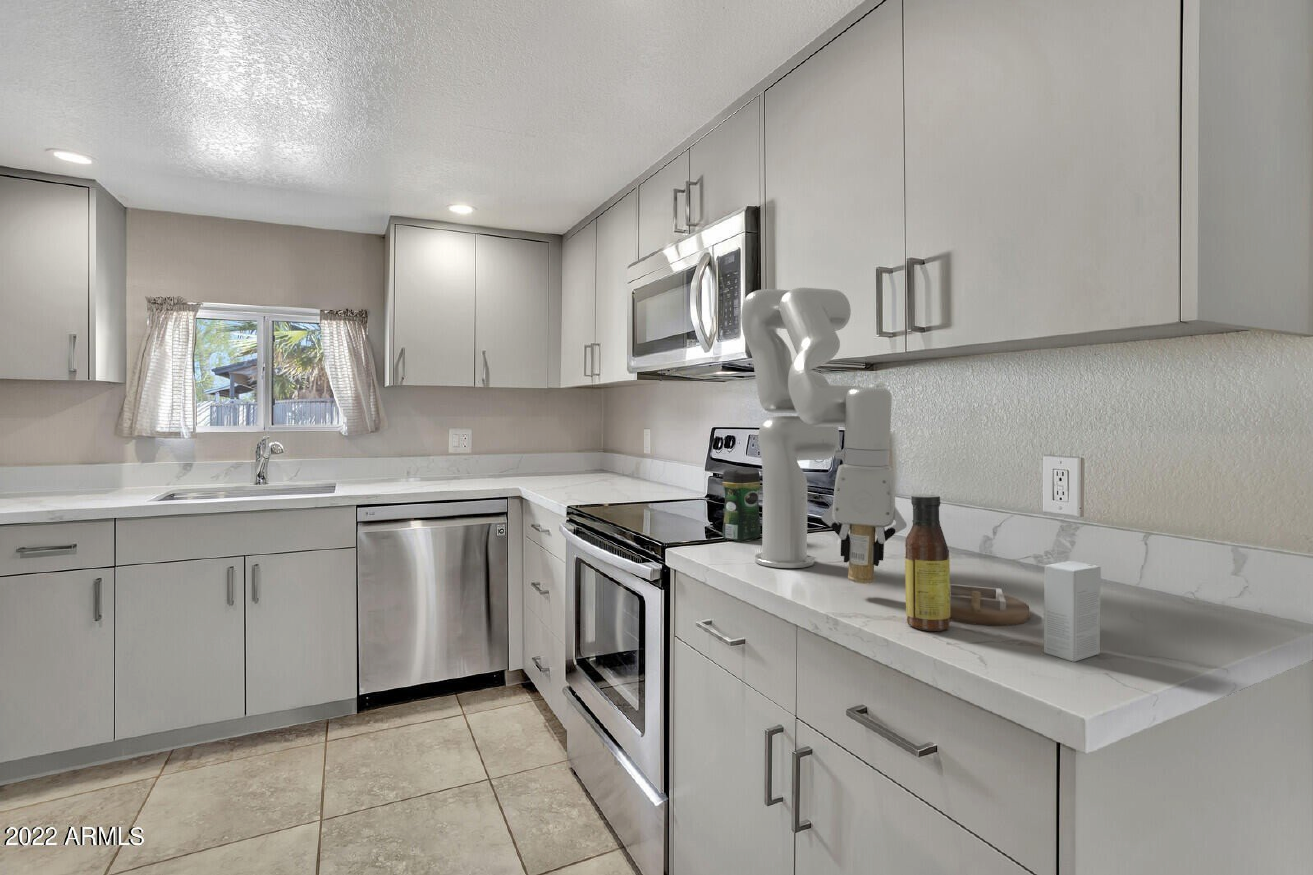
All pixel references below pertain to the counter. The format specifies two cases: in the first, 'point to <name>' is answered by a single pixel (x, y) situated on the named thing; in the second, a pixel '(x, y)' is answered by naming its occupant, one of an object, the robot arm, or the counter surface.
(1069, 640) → the skincare box
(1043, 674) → the counter surface
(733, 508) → the coffee jar
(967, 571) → the counter surface
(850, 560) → the spice jar
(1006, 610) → the brown piece
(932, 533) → the sauce bottle
